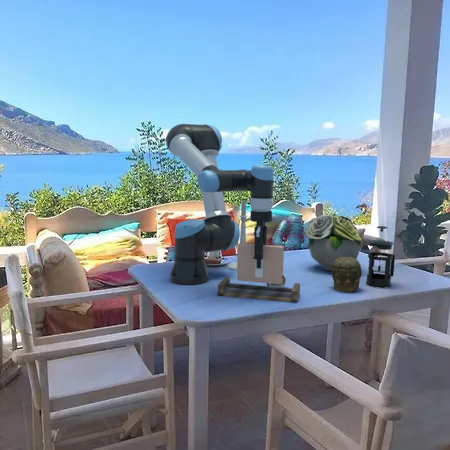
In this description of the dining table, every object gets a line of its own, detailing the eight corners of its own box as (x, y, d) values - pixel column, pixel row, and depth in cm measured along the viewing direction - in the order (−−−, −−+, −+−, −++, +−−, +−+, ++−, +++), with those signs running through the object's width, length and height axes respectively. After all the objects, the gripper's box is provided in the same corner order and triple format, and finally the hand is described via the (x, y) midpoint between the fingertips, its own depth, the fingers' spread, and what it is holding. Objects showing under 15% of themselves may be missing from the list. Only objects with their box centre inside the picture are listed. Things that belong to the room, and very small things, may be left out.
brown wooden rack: (217, 295, 170) (217, 284, 170) (224, 287, 180) (224, 277, 179) (297, 302, 164) (297, 291, 163) (299, 294, 173) (300, 283, 173)
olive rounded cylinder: (355, 284, 187) (356, 254, 185) (364, 293, 176) (366, 261, 174) (327, 284, 186) (328, 254, 184) (334, 293, 176) (336, 261, 174)
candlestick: (256, 264, 218) (257, 198, 213) (257, 271, 205) (259, 201, 200) (228, 263, 218) (229, 197, 213) (227, 270, 205) (228, 200, 201)
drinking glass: (278, 283, 193) (282, 291, 178) (262, 278, 193) (265, 286, 178) (284, 267, 192) (288, 274, 177) (268, 262, 192) (271, 269, 177)
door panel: (236, 280, 171) (237, 244, 169) (238, 278, 174) (239, 243, 172) (281, 284, 168) (282, 247, 166) (282, 281, 170) (283, 246, 168)
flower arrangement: (292, 268, 211) (294, 213, 207) (327, 260, 227) (329, 209, 224) (340, 280, 193) (343, 220, 189) (374, 270, 209) (377, 215, 205)
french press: (374, 289, 181) (378, 229, 178) (359, 282, 190) (362, 225, 186) (399, 286, 185) (404, 227, 182) (383, 280, 194) (387, 223, 190)
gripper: (268, 213, 158) (266, 282, 162) (275, 207, 174) (273, 271, 177) (246, 212, 160) (244, 280, 164) (254, 207, 176) (253, 269, 179)
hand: (259, 275), depth 171 cm, fingers closed on door panel, 3 cm apart
